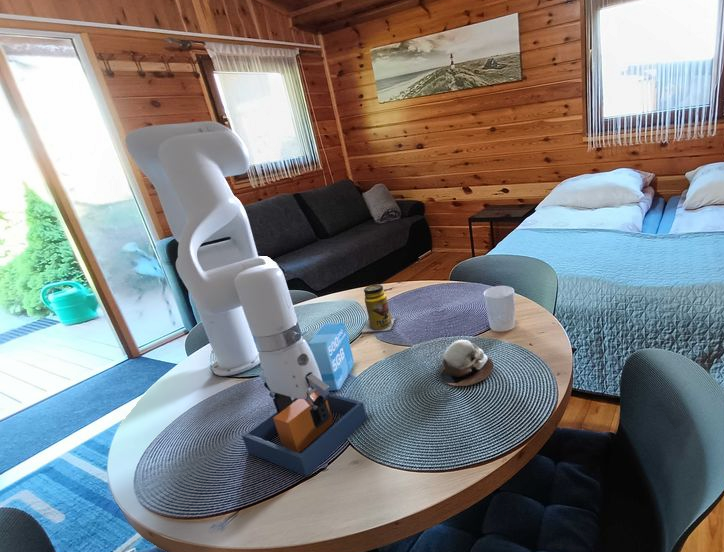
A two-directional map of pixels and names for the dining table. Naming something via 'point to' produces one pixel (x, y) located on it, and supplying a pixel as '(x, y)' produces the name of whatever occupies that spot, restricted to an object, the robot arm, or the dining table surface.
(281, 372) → the robot arm
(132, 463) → the dining table surface
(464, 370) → the skull
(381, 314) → the condiment
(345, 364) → the data package
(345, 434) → the bin
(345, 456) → the dining table surface
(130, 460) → the dining table surface
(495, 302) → the white cup
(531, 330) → the dining table surface
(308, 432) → the block
